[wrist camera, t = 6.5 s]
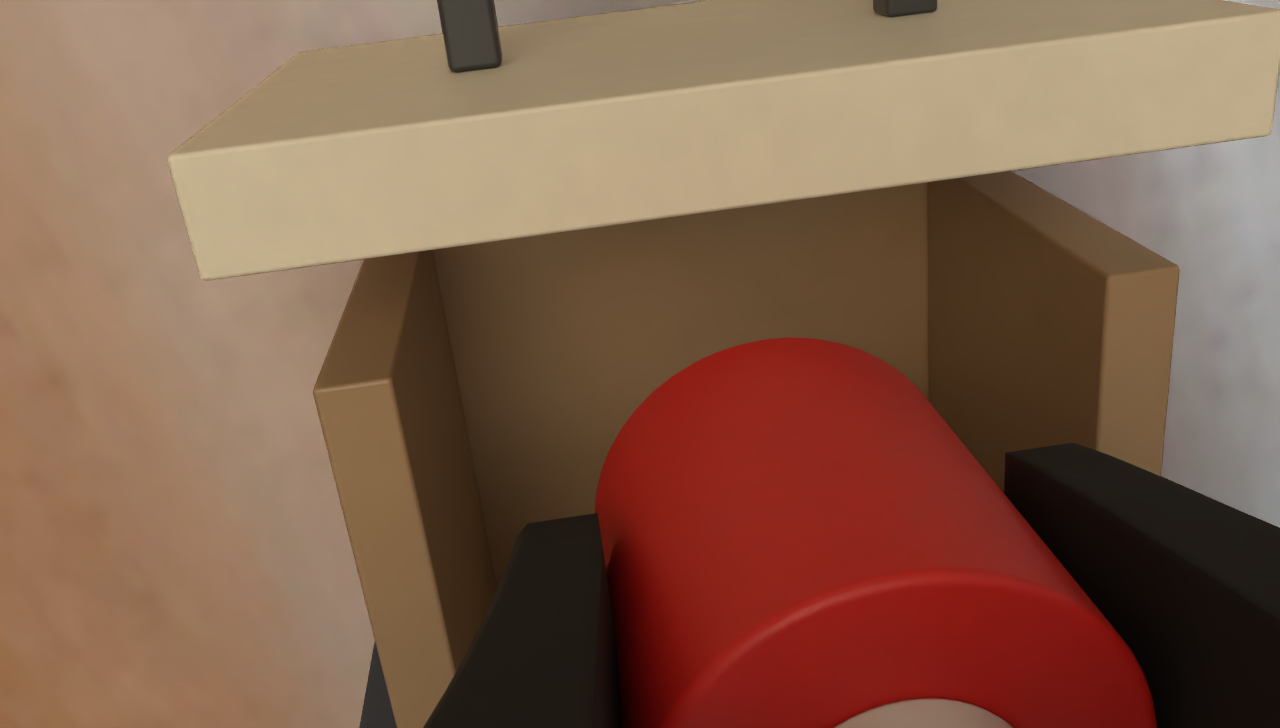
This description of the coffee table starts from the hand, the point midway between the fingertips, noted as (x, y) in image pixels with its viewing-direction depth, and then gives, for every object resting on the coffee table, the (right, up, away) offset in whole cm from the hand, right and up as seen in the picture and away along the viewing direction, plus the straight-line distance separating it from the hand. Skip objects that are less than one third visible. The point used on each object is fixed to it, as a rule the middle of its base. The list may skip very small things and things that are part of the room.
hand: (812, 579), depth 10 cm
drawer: (-1, +3, +8) cm, 9 cm away
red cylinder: (0, +1, +1) cm, 1 cm away
